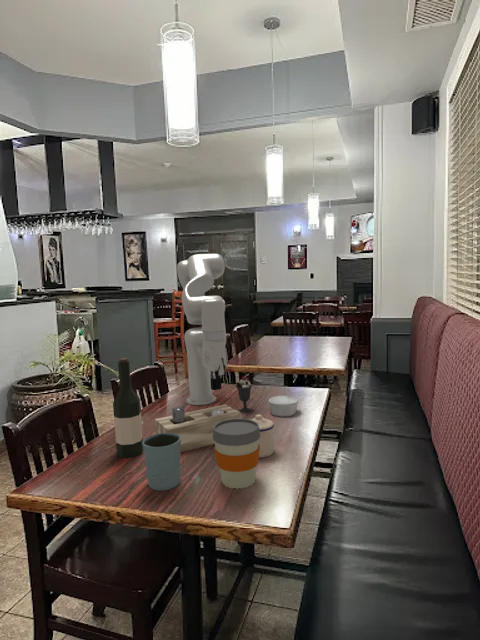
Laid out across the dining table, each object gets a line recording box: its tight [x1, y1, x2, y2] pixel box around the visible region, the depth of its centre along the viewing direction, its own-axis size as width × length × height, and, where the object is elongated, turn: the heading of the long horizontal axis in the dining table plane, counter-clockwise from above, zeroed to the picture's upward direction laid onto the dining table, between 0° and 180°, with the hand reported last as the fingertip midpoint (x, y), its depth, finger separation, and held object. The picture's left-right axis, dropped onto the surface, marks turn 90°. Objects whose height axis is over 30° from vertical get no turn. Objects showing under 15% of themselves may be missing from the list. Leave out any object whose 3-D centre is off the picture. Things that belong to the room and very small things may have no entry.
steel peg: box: [212, 409, 224, 416], centre depth 151 cm, size 4×4×8 cm
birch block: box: [154, 404, 243, 453], centre depth 148 cm, size 12×26×8 cm, turn 119°
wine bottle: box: [112, 357, 144, 459], centre depth 139 cm, size 8×8×30 cm
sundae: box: [235, 372, 253, 414], centre depth 175 cm, size 7×7×15 cm
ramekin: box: [267, 395, 299, 417], centre depth 172 cm, size 11×11×5 cm
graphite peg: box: [171, 406, 186, 424], centre depth 144 cm, size 4×4×8 cm
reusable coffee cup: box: [213, 418, 260, 490], centre depth 118 cm, size 13×13×15 cm
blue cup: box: [142, 433, 182, 491], centre depth 119 cm, size 10×10×12 cm
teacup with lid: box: [250, 413, 275, 458], centre depth 136 cm, size 12×9×12 cm
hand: (216, 389), depth 151 cm, fingers closed
